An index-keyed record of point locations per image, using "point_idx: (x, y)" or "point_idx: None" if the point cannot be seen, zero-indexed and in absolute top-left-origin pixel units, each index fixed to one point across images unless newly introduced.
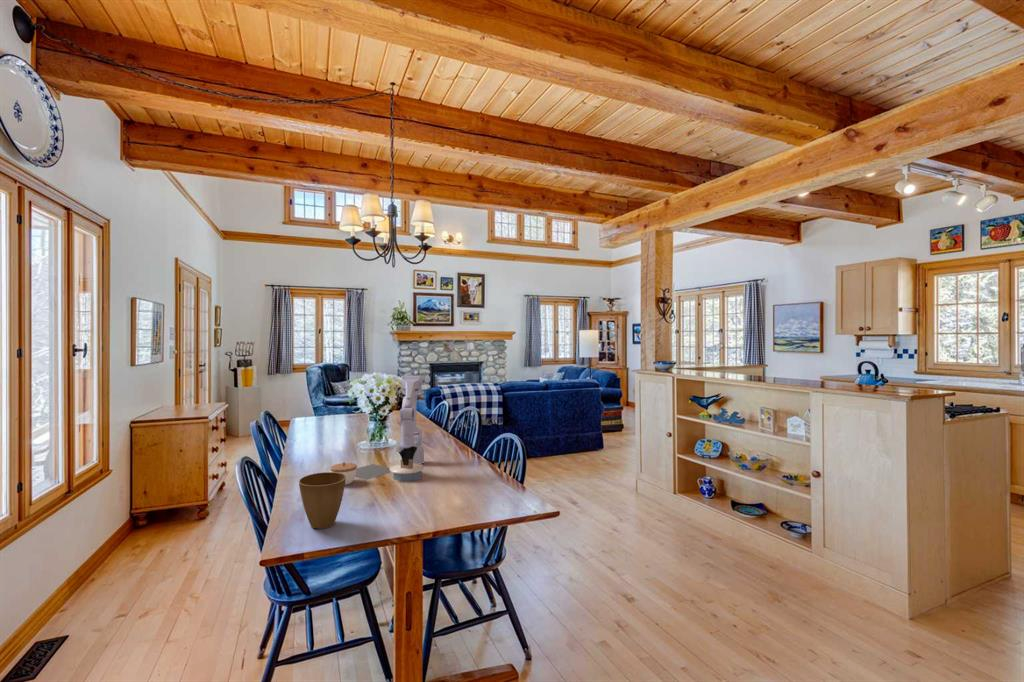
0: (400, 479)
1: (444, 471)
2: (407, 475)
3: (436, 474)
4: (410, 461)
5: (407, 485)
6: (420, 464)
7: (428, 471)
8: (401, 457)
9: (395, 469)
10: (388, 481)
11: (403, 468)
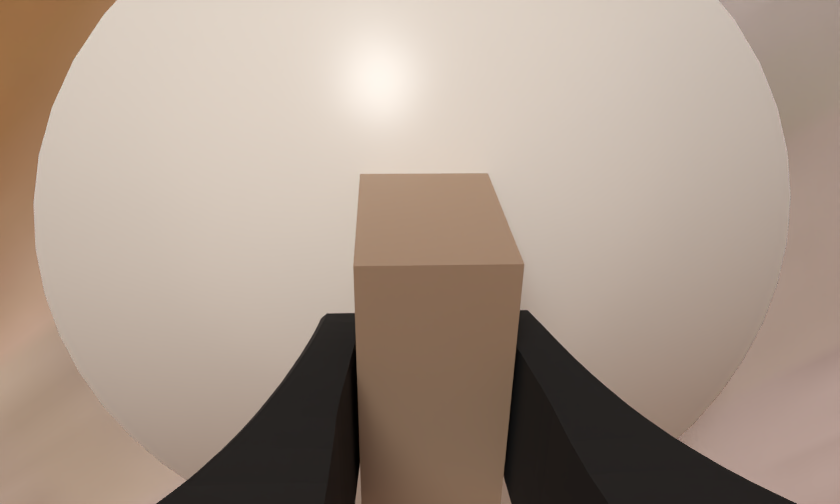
0: None
1: (832, 481)
2: None
3: None
4: (392, 502)
5: (100, 417)
6: (719, 386)
7: (807, 315)
8: (245, 429)
9: (187, 148)
10: (64, 44)
11: (344, 259)
